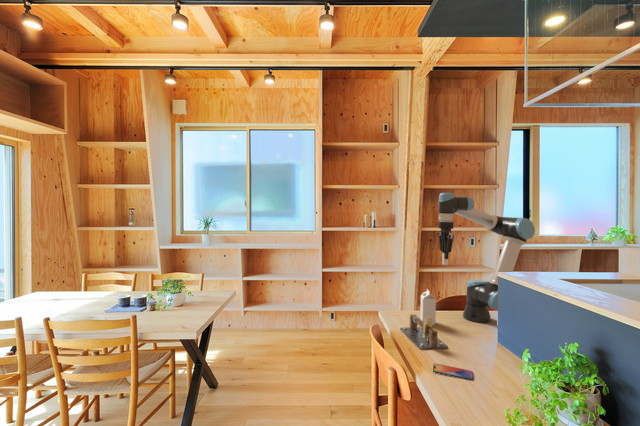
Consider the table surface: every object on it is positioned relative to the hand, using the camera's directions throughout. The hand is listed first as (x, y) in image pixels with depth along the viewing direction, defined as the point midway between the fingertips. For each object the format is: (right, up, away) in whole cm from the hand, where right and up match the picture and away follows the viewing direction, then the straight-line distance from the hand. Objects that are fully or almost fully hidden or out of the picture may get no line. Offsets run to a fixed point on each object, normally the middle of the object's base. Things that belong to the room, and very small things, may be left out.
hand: (445, 264), depth 180 cm
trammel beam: (-16, -36, -11) cm, 41 cm away
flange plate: (-16, -36, -11) cm, 41 cm away
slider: (-15, -35, -17) cm, 42 cm away
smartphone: (-14, -37, -46) cm, 61 cm away
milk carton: (-6, -36, +11) cm, 38 cm away
